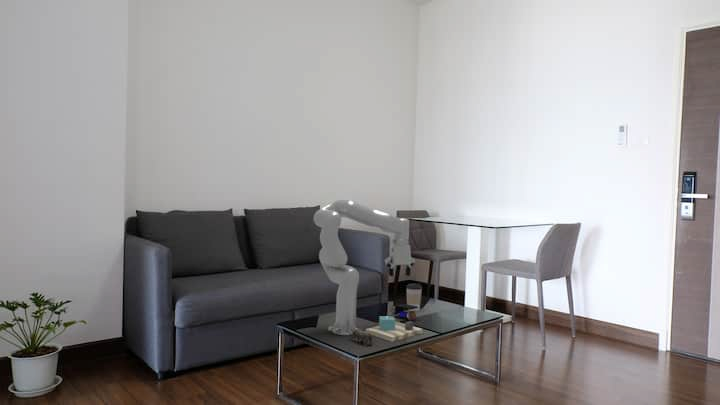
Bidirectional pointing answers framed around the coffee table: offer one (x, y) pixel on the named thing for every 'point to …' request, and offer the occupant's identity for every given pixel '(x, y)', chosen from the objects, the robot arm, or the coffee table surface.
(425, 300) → the coffee table surface
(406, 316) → the figurine character
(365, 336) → the rhino figurine
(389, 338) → the hub board
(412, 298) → the coffee cup
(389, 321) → the teal drawer cube
